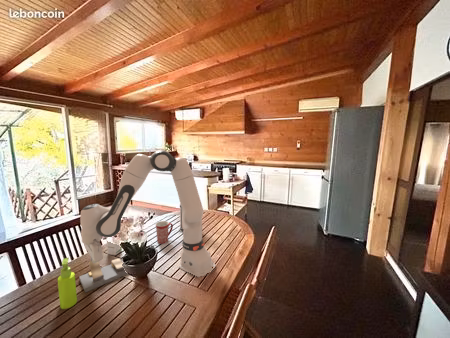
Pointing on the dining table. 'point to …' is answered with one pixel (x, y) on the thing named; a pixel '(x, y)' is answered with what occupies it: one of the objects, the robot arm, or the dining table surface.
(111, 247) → the syrup box
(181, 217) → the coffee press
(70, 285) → the soap dispenser
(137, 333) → the dining table surface
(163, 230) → the mug
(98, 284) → the board
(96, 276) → the latch
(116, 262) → the latch
